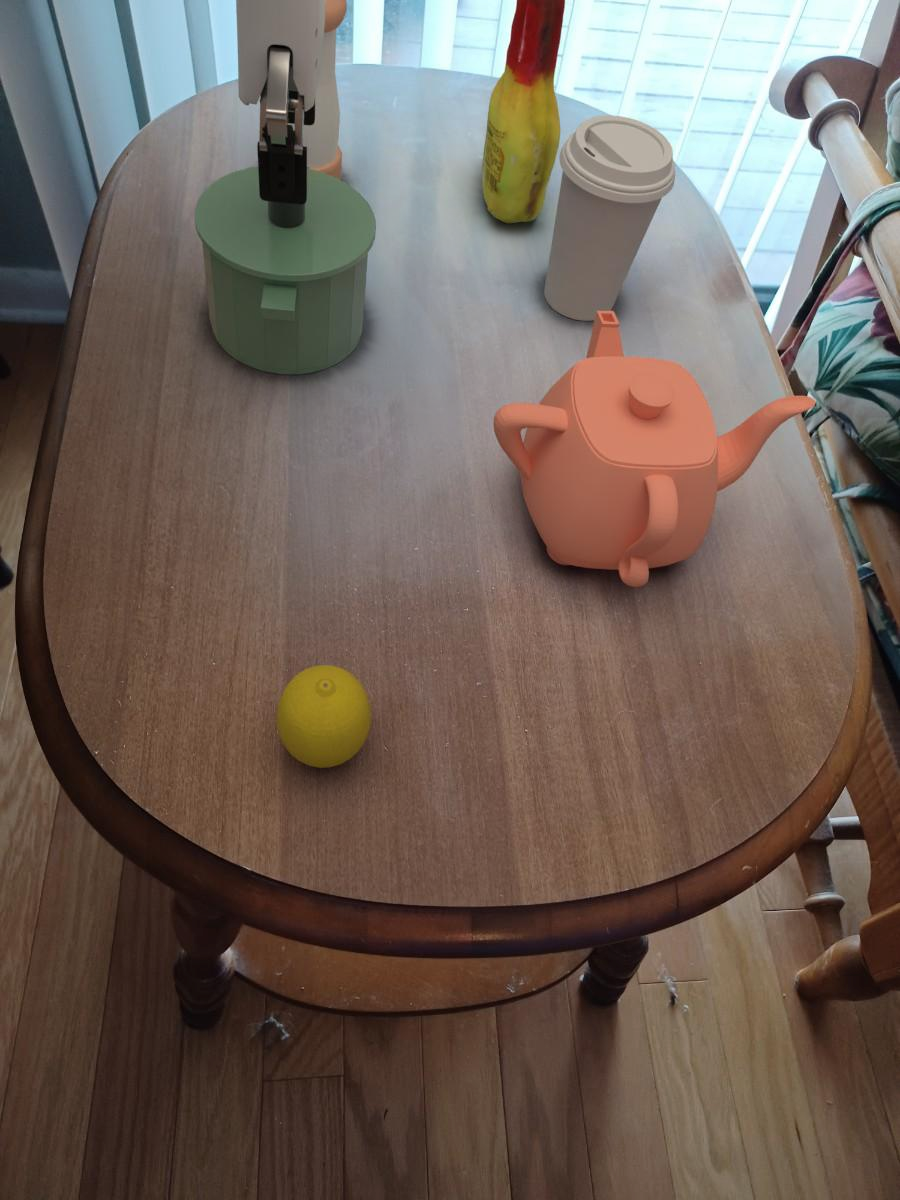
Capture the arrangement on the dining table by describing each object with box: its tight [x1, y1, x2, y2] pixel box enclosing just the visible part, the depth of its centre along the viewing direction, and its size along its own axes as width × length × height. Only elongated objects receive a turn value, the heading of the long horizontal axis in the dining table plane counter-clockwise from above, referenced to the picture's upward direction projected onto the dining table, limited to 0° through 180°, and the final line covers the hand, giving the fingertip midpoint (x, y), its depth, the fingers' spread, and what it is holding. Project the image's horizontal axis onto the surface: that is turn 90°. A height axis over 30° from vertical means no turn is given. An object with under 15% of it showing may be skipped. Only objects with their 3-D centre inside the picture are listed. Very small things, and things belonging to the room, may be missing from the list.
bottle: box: [480, 0, 566, 224], centre depth 86 cm, size 12×6×20 cm, turn 6°
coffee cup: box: [543, 115, 676, 322], centre depth 81 cm, size 10×10×15 cm
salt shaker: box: [288, 0, 348, 181], centre depth 84 cm, size 7×7×19 cm
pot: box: [201, 167, 369, 376], centre depth 77 cm, size 13×18×10 cm
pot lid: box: [194, 165, 377, 282], centre depth 71 cm, size 14×14×6 cm
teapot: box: [492, 310, 816, 588], centre depth 68 cm, size 16×17×14 cm
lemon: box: [276, 664, 372, 769], centre depth 56 cm, size 6×6×8 cm
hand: (288, 159), depth 69 cm, fingers open, 9 cm apart
